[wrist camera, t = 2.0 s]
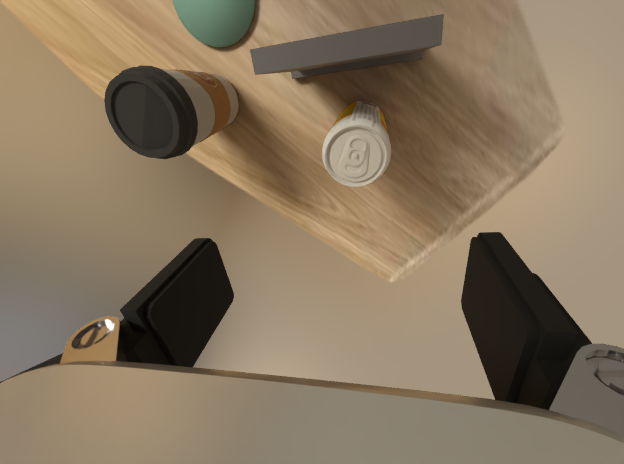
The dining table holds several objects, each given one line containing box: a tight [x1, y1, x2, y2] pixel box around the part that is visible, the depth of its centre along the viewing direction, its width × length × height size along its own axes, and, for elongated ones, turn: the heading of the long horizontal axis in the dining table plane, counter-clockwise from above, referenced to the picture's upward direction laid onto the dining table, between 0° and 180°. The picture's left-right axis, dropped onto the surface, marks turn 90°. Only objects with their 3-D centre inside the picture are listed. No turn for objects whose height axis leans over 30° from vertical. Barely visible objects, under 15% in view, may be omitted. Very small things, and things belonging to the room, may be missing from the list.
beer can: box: [322, 101, 391, 187], centre depth 30 cm, size 6×6×15 cm
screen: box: [250, 14, 444, 79], centre depth 26 cm, size 3×15×16 cm, turn 98°
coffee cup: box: [105, 66, 239, 159], centre depth 32 cm, size 8×8×15 cm
